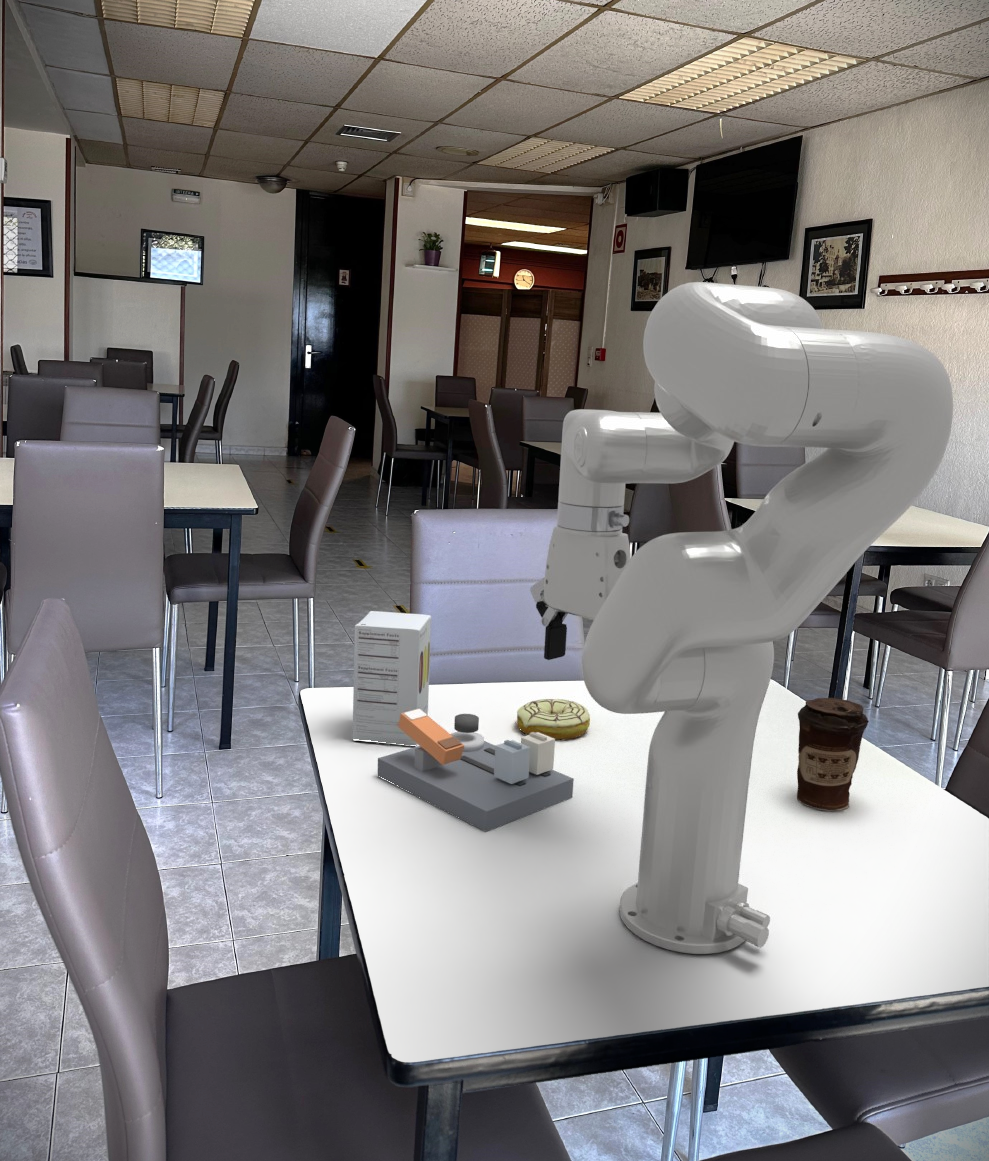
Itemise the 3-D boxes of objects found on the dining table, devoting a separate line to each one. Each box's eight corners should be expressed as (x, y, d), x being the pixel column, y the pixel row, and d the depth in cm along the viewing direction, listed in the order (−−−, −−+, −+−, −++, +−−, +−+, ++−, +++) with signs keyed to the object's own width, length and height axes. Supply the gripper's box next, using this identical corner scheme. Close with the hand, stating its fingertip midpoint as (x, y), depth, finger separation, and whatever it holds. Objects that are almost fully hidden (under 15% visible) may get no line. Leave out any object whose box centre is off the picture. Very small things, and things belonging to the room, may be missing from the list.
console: (572, 797, 126) (574, 759, 125) (485, 831, 116) (487, 791, 115) (463, 749, 140) (465, 715, 139) (377, 776, 130) (378, 739, 129)
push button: (483, 729, 135) (483, 718, 134) (465, 734, 132) (466, 723, 132) (467, 722, 137) (467, 712, 137) (449, 727, 135) (449, 717, 134)
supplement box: (416, 748, 140) (420, 630, 136) (351, 742, 141) (353, 625, 137) (428, 724, 149) (432, 613, 146) (367, 719, 150) (369, 609, 147)
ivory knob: (553, 769, 127) (555, 735, 127) (536, 775, 125) (538, 741, 124) (535, 761, 130) (537, 729, 129) (519, 767, 127) (521, 734, 127)
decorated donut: (514, 717, 155) (516, 693, 154) (584, 719, 155) (586, 696, 154) (517, 742, 145) (519, 716, 144) (592, 744, 145) (594, 719, 144)
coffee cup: (862, 821, 123) (875, 720, 121) (791, 812, 125) (803, 712, 122) (852, 793, 132) (864, 697, 129) (786, 785, 133) (796, 690, 131)
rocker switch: (460, 759, 125) (464, 744, 125) (442, 765, 123) (446, 749, 122) (416, 721, 131) (419, 707, 130) (397, 726, 129) (401, 712, 128)
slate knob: (528, 778, 124) (530, 744, 123) (511, 784, 122) (513, 749, 121) (511, 770, 126) (512, 737, 125) (493, 776, 124) (495, 742, 123)
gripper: (671, 527, 113) (658, 678, 117) (556, 506, 125) (547, 644, 129) (629, 532, 108) (617, 691, 112) (513, 510, 120) (506, 654, 124)
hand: (580, 665), depth 120 cm, fingers open, 7 cm apart
